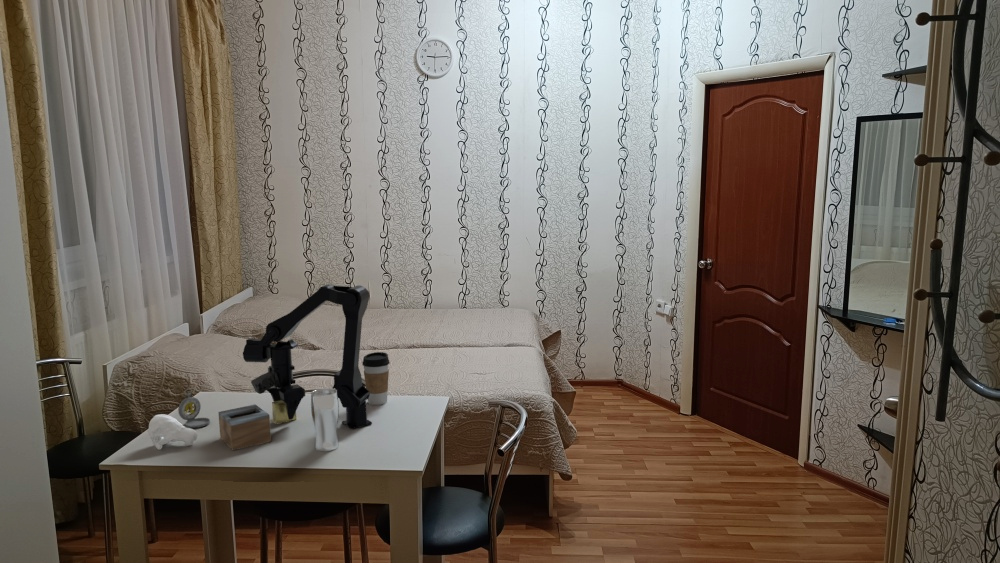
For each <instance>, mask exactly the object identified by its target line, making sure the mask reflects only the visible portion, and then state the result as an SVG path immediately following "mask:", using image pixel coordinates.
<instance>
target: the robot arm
mask: <svg viewBox="0 0 1000 563" xmlns="http://www.w3.org/2000/svg"><path fill="white" fill-rule="evenodd" d="M327 302H330V303H333V304H336V305H341V309H342V312H343V316H344V317H345V324H344V336H343V337H344V338H343V339H344V340H343V350H342V352H343V353H342V362H341V364H342V365H341V369H340V370H338V371H337V372H336V373H334V375H333V386H332V389H336V390H337V395H338V400H339V402H340V403H341V406H342V408H345V413H346V415H345V417H346V419H344V420H342V421H341V424H343V425H344V426H346V427H348V428H349V429H350V430H351V429H352V430H353V429H356V428H361V427H364V426H369V425H372V424H373V421H371V420H369V419H368V414H367V401H368V399H369V396H370V391H369V390H368V389H367V388H366V385H364V384H363V381H362V380H363V379H362V372H361V370H360V368H359V365H360V364H359V363H360V362H359V361H360V350H361V349H360V348H361V338H362V325H363V324H362V323H363V318H364V315H365V312H366V310H367V309H368V308H367V307H368V305H369V302H370V291H369V290H368V289H367V288H366V287H365V286H363V285H355V286H347V285H346V286H344V285H333V284H330V283H329V284H325V285H322V286H320V287H319V288H318V290H317V291H316V292H314V293H312V295H310V296H309V297H308V298H306V299H305V300H304V301H302V302H301V303H300V304H299V305H297V306H296V307H295V308H294V309H293V310H291V311H290V312H289V313H287V314H285V315H283V316H280V317H279V318H277V319H275V320H273V321H271V322H269V323H268V324H267V325H266V327H265V333H264V335H263V336H262V338H254V337H249V338H246V340H245V345H244V347H243V352H242V358H243V360H244V361H245V362H246V363H267V362H268V361H269V360H270V365H269V366H268V367H267V372H266V373H262V374H261V375H259V376H257V377H255V378H254V379H252V380H251V381H250V383H251V385H252V387H253V390H254V391H255V392H256V393H257V394H259V395H261V394H264V393H265V392H266V391H267V392H268V393H270V395H271V399H272V402H275V401H280V400H282V401H283V402H285V405H286V410H287V415H288V419H289V420H291V419H293V417H294V415H295V412H296V413H297V410H298V408H299V405H300V403H301V401H302V400H303V398H304V397H306V389H305V388H304V387H302V386H301V385H299V384H296V380H295V378H294V376H293V371H294V370H295V366H294V365H293V362H292V360H293V359H292V350H294V349H295V348H296V347H299V344H298V343H297V342H296V341H294V339H293V338H290V339H288V340H287V341H282V340H284V339H287V338H288V337H291V335H292V334H293V333H294V332H295V331H296V330H297V328H299V325H300V324H301V322H302V321H304V320H305V319H307V317H309V316H310V315H312V313H314V312H315V311H316V310H317V309H319V308H320V307H321V306H323V305H324V304H325V303H327ZM274 342H275V343H274Z"/></svg>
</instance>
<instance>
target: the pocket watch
mask: <svg viewBox="0 0 1000 563" xmlns="http://www.w3.org/2000/svg"><path fill="white" fill-rule="evenodd" d="M188 390H189V391H190V392H189V391H188ZM186 391H187V393H186ZM192 393H193V390H192V389H191V388H187V389H186V390H184V391H183V394H184V395H186V396H187V397H186V398H184V399H183V400H181V402H180V404H179V406H178V411H177V412H178V415H179V417H180V418H181V419H182V420H184V421H185V422H184V424H185V425H184V426H185V427H186V428H190V429H193V428H195V429H197V428H202V427H205V426H207V425H209V424H210V422H211V419H210V418H208V417H197V416H199V414H200V411H201V406H202V405H201V402H200V400H199V399H198V398H196V397H195V396H191V395H192ZM188 413H189V414H188Z"/></svg>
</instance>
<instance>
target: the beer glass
mask: <svg viewBox="0 0 1000 563" xmlns="http://www.w3.org/2000/svg"><path fill="white" fill-rule="evenodd" d="M310 395H311V396H310V408H311V409H310V412H311V417H312V422H313V426H314V430H315V444H314V445H315V446H314V449H315V450H316V451H317V452H330V451H335V450H336V449H338V448H339V446H340V444H339V443H340V442H339V439H338V422H339V413H340V412H339V411H340V408H339V407H340V405H339V398H338V395H337V390H336V389H335V388H334V389H333V387H327V388H326V387H325V388H324V387H323V388H318V389H315V390H312V391H311V392H310Z"/></svg>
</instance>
